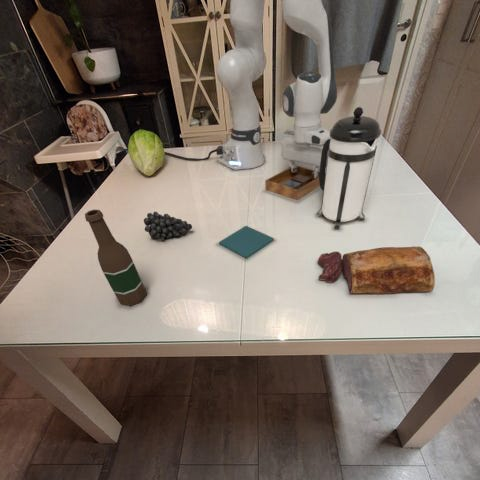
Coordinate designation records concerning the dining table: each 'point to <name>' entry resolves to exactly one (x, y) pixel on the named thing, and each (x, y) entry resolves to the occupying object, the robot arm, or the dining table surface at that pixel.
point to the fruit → (165, 226)
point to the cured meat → (381, 270)
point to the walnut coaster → (302, 179)
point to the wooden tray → (276, 187)
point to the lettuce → (146, 151)
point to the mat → (246, 241)
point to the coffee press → (347, 166)
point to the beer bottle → (116, 262)
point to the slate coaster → (292, 184)
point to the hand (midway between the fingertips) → (304, 174)
